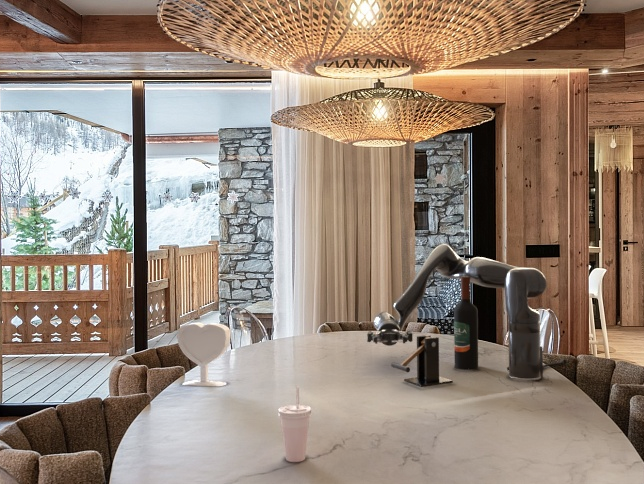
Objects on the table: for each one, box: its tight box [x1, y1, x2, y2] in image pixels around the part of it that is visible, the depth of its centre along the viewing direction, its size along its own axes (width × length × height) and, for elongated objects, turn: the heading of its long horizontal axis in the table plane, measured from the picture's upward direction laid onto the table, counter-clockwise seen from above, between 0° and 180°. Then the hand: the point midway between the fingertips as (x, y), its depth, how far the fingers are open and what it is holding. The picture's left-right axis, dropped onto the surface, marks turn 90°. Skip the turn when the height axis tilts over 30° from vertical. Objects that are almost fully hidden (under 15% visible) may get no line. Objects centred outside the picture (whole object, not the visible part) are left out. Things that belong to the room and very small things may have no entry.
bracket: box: [403, 334, 453, 388], centre depth 177 cm, size 11×9×14 cm
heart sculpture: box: [176, 322, 232, 387], centre depth 180 cm, size 16×5×18 cm, turn 79°
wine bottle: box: [453, 277, 479, 371], centre depth 196 cm, size 8×8×30 cm
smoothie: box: [278, 386, 312, 463], centre depth 118 cm, size 6×6×14 cm
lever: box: [390, 336, 432, 373], centre depth 175 cm, size 13×8×2 cm
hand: (390, 340), depth 185 cm, fingers open, 8 cm apart
